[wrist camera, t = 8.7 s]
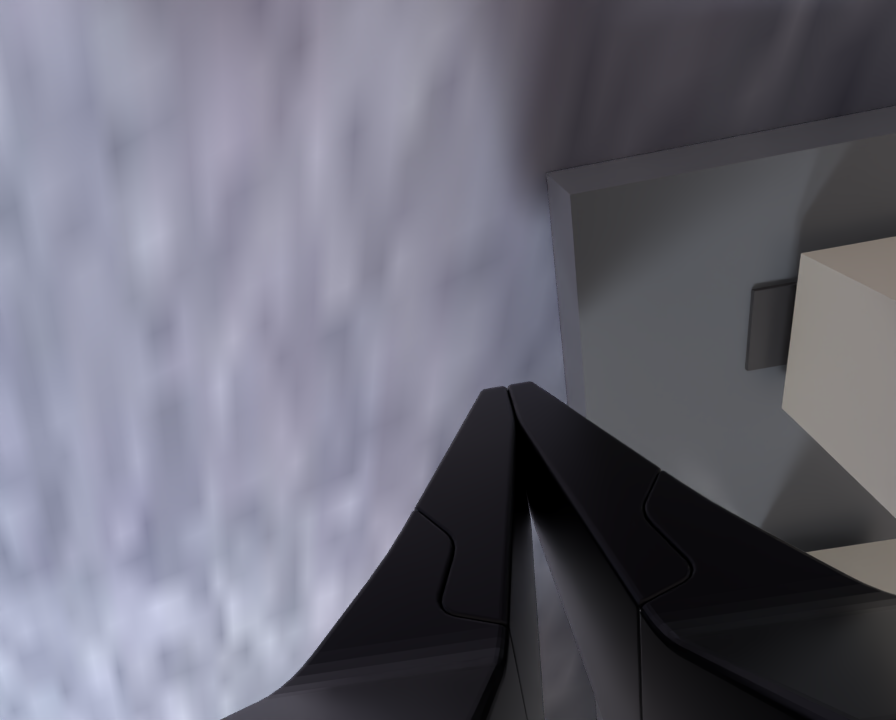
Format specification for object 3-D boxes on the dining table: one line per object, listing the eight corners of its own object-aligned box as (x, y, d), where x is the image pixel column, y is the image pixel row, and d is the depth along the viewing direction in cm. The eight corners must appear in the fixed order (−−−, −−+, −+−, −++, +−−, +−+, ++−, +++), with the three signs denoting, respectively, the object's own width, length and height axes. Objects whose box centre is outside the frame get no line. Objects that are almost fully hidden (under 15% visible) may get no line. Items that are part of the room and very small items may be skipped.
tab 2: (751, 644, 14) (830, 785, 11) (763, 559, 12) (856, 696, 10) (877, 626, 13) (989, 764, 11) (903, 537, 12) (1038, 671, 9)
